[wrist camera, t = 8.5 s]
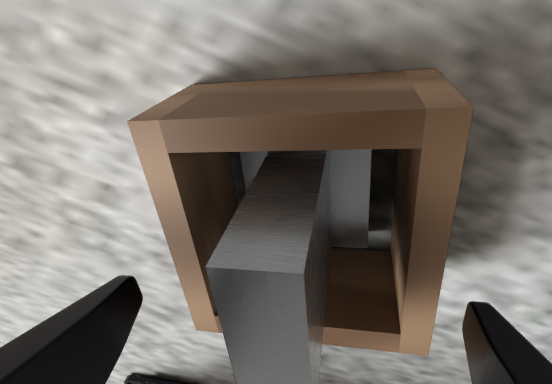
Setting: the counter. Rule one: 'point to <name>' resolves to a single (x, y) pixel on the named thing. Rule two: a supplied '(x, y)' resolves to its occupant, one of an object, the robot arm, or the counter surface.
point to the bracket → (286, 258)
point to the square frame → (317, 136)
